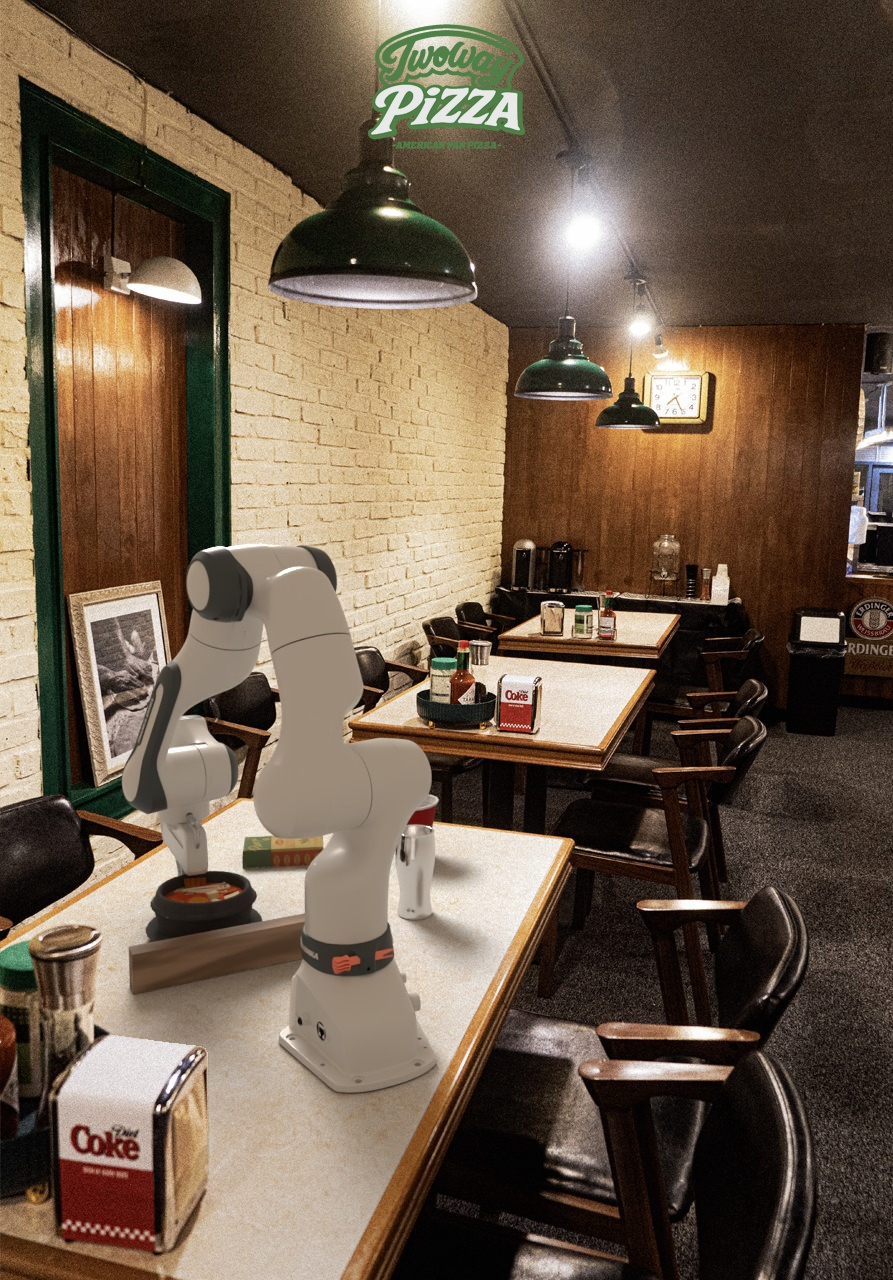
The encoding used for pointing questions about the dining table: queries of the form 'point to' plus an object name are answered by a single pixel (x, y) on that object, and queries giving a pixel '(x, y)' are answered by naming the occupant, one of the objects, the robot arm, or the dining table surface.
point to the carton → (280, 851)
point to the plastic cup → (425, 812)
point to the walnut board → (214, 953)
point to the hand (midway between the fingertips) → (184, 882)
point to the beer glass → (415, 871)
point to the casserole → (201, 905)
